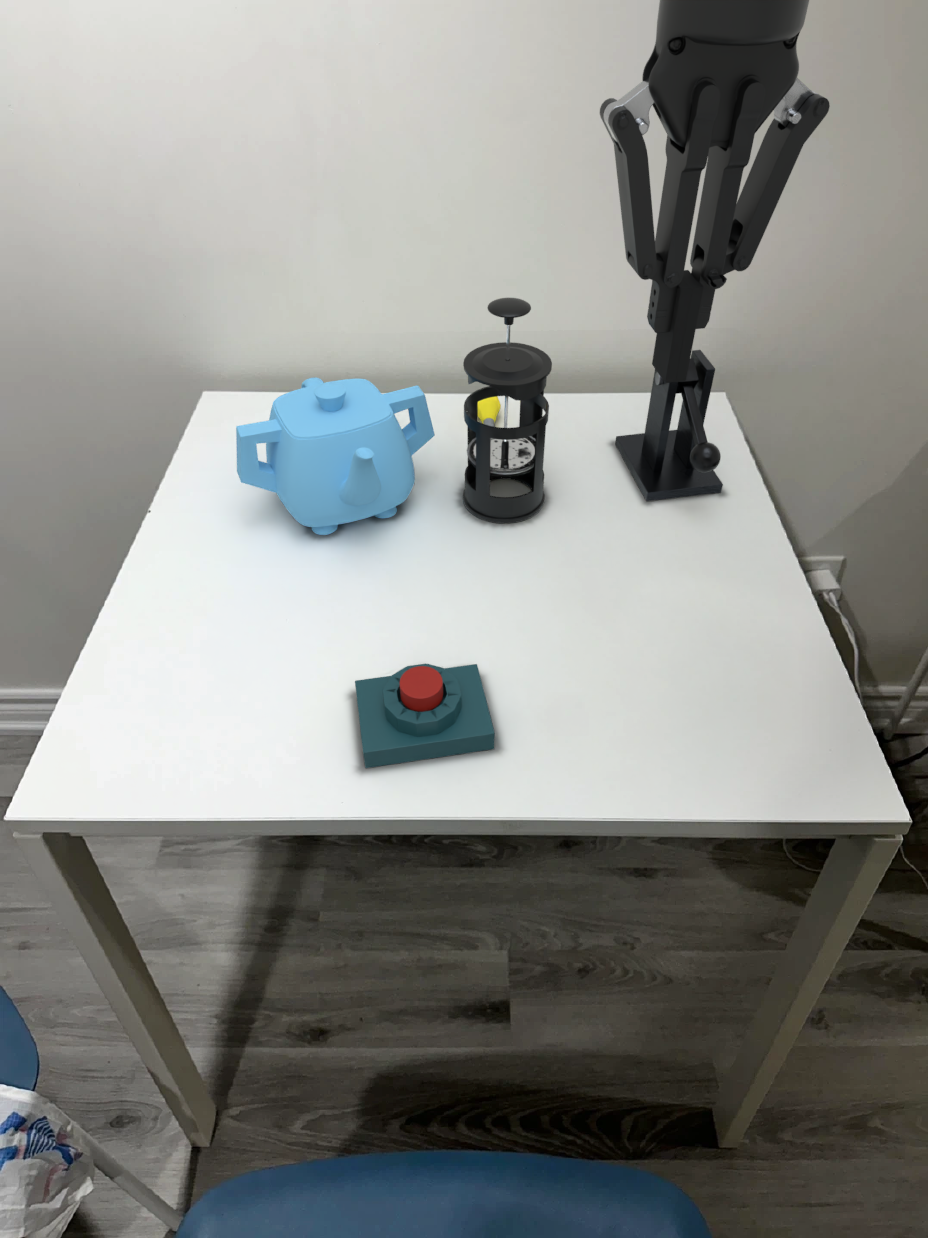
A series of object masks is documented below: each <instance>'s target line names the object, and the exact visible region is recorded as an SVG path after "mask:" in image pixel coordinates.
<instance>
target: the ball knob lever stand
mask: <svg viewBox="0 0 928 1238" xmlns="http://www.w3.org/2000/svg"><path fill="white" fill-rule="evenodd" d="M690 358H693V359H694V363H695V366H696V370H697V374H698V377H699V381H698V383H697V385H696V386H695V388H694V393H695V397H696V400H697V404H698V408H699V411H700V415H701V419H702V423H703V425H704V424H705V419H706V415H707V409H708V404H709V400H710V396H711V391H712V387H713V381H714V377H715V373H716V367H715V366H714V365H713V363H712V362H711V361H710V360H709V359H708V357H707V356H706V355H705V353H704V352H703V351H702V350H701V349H695V350H693V349H692V351H691V356H690ZM677 385H678V382H671V383H665V382H664V381H663V379H662V378H661V377H660V375H659V374H658V372H657V371H656V369H655V368H654V373H653V379H652V383H651V390H650V398H649V402H648V404H649V405H648V408H647V416H646V422H645V428H644V432H643V433H634V434H624V435H616V436H615V441H614V442H615V443H614V445H615V447H616V448H617V450H618V452H619V454H620V456H621V459H622V460H623V461H624V463H625V465H626V467H627V469H628V470H629V472H630V474H631V476H632V477H633V480H634V481H635V483H636V485H637V487H638V489H639V490H640V492H641V494H642V496H643V498H644V499H645V501H646V502H652V501H653V502H654V501H661V500H669V499H678V498H679V499H680V498H688V497H695V496H704V495H711V494H721V493H722V491H723V486H724V483H723V482H722V480H721V479H720V477H719V476H718V474H717V473H716V472H715V469H714V470H712V471H710V472H707V473H702V472H698V471H696V470H695V469H694V468H693V467H692V466H691V464H690V459H689V457H690V453H691V451H692V449H693V448H694V447H695V444H694V440H693V436H692V433H691V429H690V425H689V421H688V417H687V414H686V410H685V406H684V402H683V400H682V402H681V407H680V413H679V416H678V417H679V418H678V423H677V428H676V429H670V428H671V422H672V417H673V411H674V406H675V400H676V395H677V394H676V390H677Z"/></svg>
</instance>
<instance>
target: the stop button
mask: <svg viewBox="0 0 928 1238" xmlns="http://www.w3.org/2000/svg"><path fill="white" fill-rule="evenodd" d="M400 694H401V700H402V702H403V704H404V705H405V706H406V707H407V708H409V709H411V710H413V711H418V712H424V711H429V710H432V709H434V708H435V707H437V706H438V705H439V704H440V703H441V701H442V699H443V680H442V677H441V675H440V673H439V672H438V671H436V670H435V669H433V668H431V667H427V666H417V667H413V668H411V669H409V670H407V671H406V672H405V673H404V674H403V675H402V676H401V678H400Z"/></svg>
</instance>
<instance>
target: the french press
mask: <svg viewBox="0 0 928 1238" xmlns="http://www.w3.org/2000/svg"><path fill="white" fill-rule="evenodd" d="M531 310H532V306H531V304H530V303H529V302H528V301H526V300H524V299H522V298H517V297H501V298H496V299H494V300H492V301H490V302H489V303H488V304H487V311H488V313H490V314H491V315H493V316H495V317H498V318H503V324H504V325H505V326H506V341H503V342H494V343H493V342H492V343H489V344H483V345H481V346H479V347H476V348H474V349H473V350H471V351H470V352H468V353H467V354H466V356H465V357H464V359H463V363H462V364H463V365H462V366H463V370H464V373H465V374H466V375H467V383H468V384H467V385H472V384H473V383H479V384H482V385H485V386H483V387H482V388H479V389H477V390H475V391H473V392H471V393H470V394H469V395H468V396H467V397H466V399H465V400H464V403H463V419H464V422H465V425H466V426H467V427H466V428H467V446H466V447H467V448H466V455H467V466H466V467H465V470H464V489H463V492H462V500H463V505H464V507H465V508H466V510H467V511H468V512H469V513H470V514H472V515H473V516H475V517H476V518H478V519H480V520H483V521H486V522H490V523H495V524H514V523H519V522H523V521H526V520H529V519H530V518H533V517H534V516H536V515H537V514H538V513H540V511H541V510H542V509H543V506H544V504H545V500H546V499H545V498H546V495H545V490H544V486H545V472H544V461H545V446H546V445H545V444H546V431H547V430H546V429H547V424H548V422H549V414H550V405H549V401H548V399H547V398H546V397H545V396H544V395H545V389H546V388H547V377H548V376H549V375H550V374H551V372H552V369H553V361H552V359H551V357H550V355H548V354H547V353H546V352H545V350H544V351H543V350H542V349H540V348H538V347H536V346H533V345H531V344H530V345H529V344H526V343H520V342H511V327H512V325H514V320H515V319H516V318H522V317H524V316H526V315H528V314H529V313H530V312H531ZM496 396H497V397H504V418H503V420H504V421H503V423H504V424H503V427H499V426H495V427H493V426H489V425H485V424H482V422H480V421H478V420H479V417H478V401H481V400H483V399H486V398H490V397H496ZM509 398H511V399H513V400H514V401H519V422H518V426H516V427H508V424H509V423H508V421H509V419H508V417H509ZM543 411H544V412H543ZM543 413H544V414H543ZM496 480H512V481H516V482H519V483H522V484H524V485H525V486H526V487H527V488H529V489H530V491H529V492H527V493H523V494H520V495H515V496H496V495H491V481H496Z"/></svg>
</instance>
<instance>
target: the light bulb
mask: <svg viewBox="0 0 928 1238" xmlns="http://www.w3.org/2000/svg"><path fill="white" fill-rule="evenodd" d="M501 405H502V404H501V402H500V399H499V396H496V397H490V398H486V399H483V400H481V401H478V419H479V420H480V421H481V423H482V424H485V425H489V426H493V427H496V425H495V423H496V421H497V416H498V415H499V412H500V411H501V407H502V406H501Z"/></svg>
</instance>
